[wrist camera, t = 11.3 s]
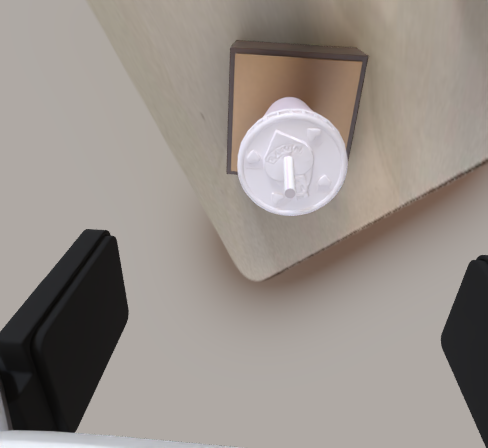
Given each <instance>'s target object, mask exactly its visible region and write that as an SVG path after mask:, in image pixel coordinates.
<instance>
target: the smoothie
mask: <svg viewBox="0 0 488 448" xmlns="http://www.w3.org/2000/svg"><path fill="white" fill-rule="evenodd" d="M347 165H348V161H347V153H346V148H345V143H344V141H343V139H342V137H341V135H340V133H339V131H338V130H337V129H336V128H335V126H334V125H333V124H332V123H331V122H330V121H329V120H328V119H326V118H324V117H323V116H321V115H319V114H318V113H316V112H313V111H312V110H311V109H310V108H309V106H308V105H307V104H306V103H305V102H303V101H302V100H300V99H298V98H294V97H285V98H281V99H279V100H277V101H275V102H274V103H273V104H272V105H271V106H270V107H269V109H268V110H267V112H266V113H265V115H264V116H263V118H261V119H259V120H258V121H257V122H256V123H255V124H254V125H253V126H252V127H251V128H250V129H249V130H248V131H247V133H246V135H245V137H244V138H243V140H242V142H241V145H240V149H239V153H238V162H237V169H238V176H239V180H240V183H241V185H242V187H243V189H244V191H245V192H246V194H247V195H248V197H249V198H250V199H251V200H252V201H253V202H254V203H256V204H257V205H258V206H260V207H261V208H263V209H265V210H267V211H269V212H272V213H275V214H279V215H285V216H296V215H303V214H307V213H310V212H313V211H315V210H317V209H319V208H321V207H323V206H324V205H326V204H327V203H328V202H329V201H331V200H332V199H333V198H334V197H335V195H336V194H337V193H338V191H339V190H340V188H341V187H342V185H343V182H344V180H345V177H346V173H347Z"/></svg>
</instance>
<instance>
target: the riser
mask: <svg viewBox="0 0 488 448" xmlns="http://www.w3.org/2000/svg"><path fill="white" fill-rule="evenodd" d="M367 61H368V55H366V54H365V53H364V52H362V51H361V50H359V49H358V48H351V47H335V46H319V45H303V44H287V43H271V42H255V41H239V40H236V41H235V43H234V44H233V45H232V46H231V47H230V74H229V108H228V142H227V174H237V175H238V169H237V162H238V153H239V149H240V145H241V142H242V140H243V138H244V137H245V135H246V133H247V131H248V130H249V129H250V128H251V127H252V126H253V125H254V124H255V123H256V122H257V121H258V120H259V119H261V118H263V116H264V115H265V113H266V112H267V110H268V109H269V107H270V106H271V105H272V104H273V103H274V102H275V101H277V100H279V99H281V98H285V97H294V98H298V99H300V100H302V101H303V102H305V103H306V104H307V105H308V106H309V108H310V109H311V110H312V111H313V112H316V113H318V114H319V115H321V116H323V117H324V118H326V119H328V120H329V121H330V122H331V123H332V124H333V125H334V126H335V128H336V129H337V130H338V131H339V133H340V135H341V137H342V139H343V141H344V143H345V148H346V153H347V161H348V159H349V154H350V149H351V144H352V139H353V133H354V128H355V123H356V118H357V113H358V108H359V102H360V97H361V92H362V87H363V82H364V77H365V71H366V66H367ZM343 183H344V182H343Z"/></svg>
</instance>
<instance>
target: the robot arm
mask: <svg viewBox="0 0 488 448" xmlns="http://www.w3.org/2000/svg"><path fill="white" fill-rule="evenodd" d="M127 320H128V304H127V299H126V292H125V286H124V280H123V274H122V268H121V262H120V257H119V251H118V245H117V240H116V238H115V237H114V236H111V235H110V233H109V231H107V230H92V229H86V230H84V231H83V232H82V234H81V235H80V236H79V237H78V239H77V240H76V241H75V242H74V243H73V245H72V246H71V247H70V248H69V250H68V251H67V252H66V253H65V254H64V256H63V257H62V258H61V259H60V261H59V262H58V263H57V264H56V265H55V267H54V268H53V269H52V270H51V271H50V273H49V274H48V275H47V276H46V278H45V279H44V280H43V281H42V282H41V283H40V284H39V285H38V287H37V288H36V289H35V291H34V292H33V293H32V294H31V295H30V296H29V298H28V299H27V300H26V301H25V303H24V304H23V305H22V306H21V307H20V309H19V310H18V311H17V312H16V313H15V315H14V316H13V317H12V318H11V319H10V321H9V322H8V323H7V324H6V326H5V327H4V328H3V329H2V330H1V332H0V448H242V447H231V446H221V445H210V444H199V443H188V442H177V441H166V440H155V439H145V438H134V437H123V436H110V435H96V434H83V433H75V431H76V430H77V428H78V426H79V424H80V422H81V420H82V417H83V415H84V413H85V411H86V409H87V407H88V404H89V402H90V400H91V398H92V396H93V394H94V392H95V390H96V387H97V385H98V383H99V381H100V379H101V377H102V375H103V372H104V370H105V368H106V366H107V364H108V362H109V359H110V357H111V355H112V353H113V351H114V349H115V347H116V345H117V343H118V340H119V338H120V336H121V333H122V332H123V330H124V327H125V325H126V323H127ZM441 345H442V349H443V351H444V353H445V356H446V358H447V360H448V362H449V365H450V367H451V369H452V371H453V373H454V376H455V378H456V380H457V383H458V385H459V387H460V390H461V392H462V394H463V396H464V399H465V401H466V403H467V405H468V408H469V410H470V412H471V414H472V417H473V419H474V421H475V423H476V426H477V428H478V430H479V433H480V435H481V437H482V439H483V442H484V443H485V446H486V448H488V255H481V256H479V257H478V258H477V259H476V260H472V261H471V262H470V263H469V265H468V267H467V270H466V273H465V275H464V278H463V280H462V283H461V286H460V288H459V291H458V293H457V296H456V299H455V301H454V304H453V306H452V309H451V311H450V314H449V317H448V319H447V322H446V324H445V327H444V330H443V332H442V335H441Z"/></svg>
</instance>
